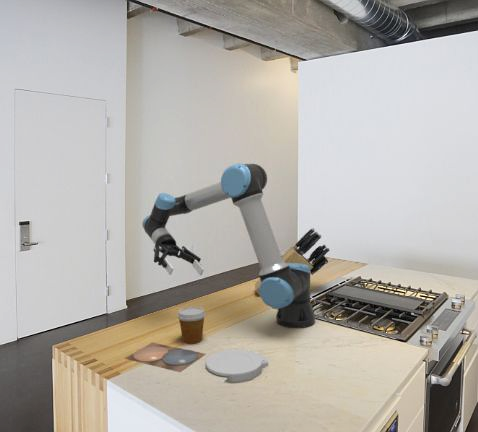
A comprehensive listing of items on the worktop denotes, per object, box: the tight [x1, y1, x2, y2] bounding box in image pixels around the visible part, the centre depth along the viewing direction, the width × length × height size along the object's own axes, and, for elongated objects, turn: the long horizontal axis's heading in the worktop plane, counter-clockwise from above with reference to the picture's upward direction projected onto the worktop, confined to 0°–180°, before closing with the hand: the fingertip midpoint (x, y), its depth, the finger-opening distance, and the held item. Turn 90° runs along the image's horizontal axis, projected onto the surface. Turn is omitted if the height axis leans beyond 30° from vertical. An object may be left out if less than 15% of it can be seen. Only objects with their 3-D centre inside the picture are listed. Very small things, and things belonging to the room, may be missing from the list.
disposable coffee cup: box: [177, 306, 206, 345], centre depth 152 cm, size 10×10×12 cm
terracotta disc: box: [133, 346, 168, 362], centre depth 142 cm, size 11×11×1 cm
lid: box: [205, 348, 269, 383], centre depth 134 cm, size 17×20×3 cm
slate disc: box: [162, 348, 197, 366], centre depth 139 cm, size 11×11×1 cm
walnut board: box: [123, 342, 207, 373], centre depth 140 cm, size 22×14×2 cm, turn 61°
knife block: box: [254, 227, 330, 296], centre depth 210 cm, size 11×35×31 cm, turn 89°
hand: (187, 272), depth 163 cm, fingers open, 13 cm apart
